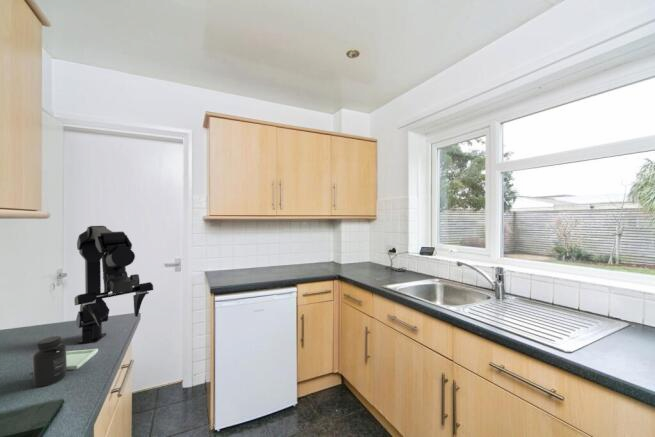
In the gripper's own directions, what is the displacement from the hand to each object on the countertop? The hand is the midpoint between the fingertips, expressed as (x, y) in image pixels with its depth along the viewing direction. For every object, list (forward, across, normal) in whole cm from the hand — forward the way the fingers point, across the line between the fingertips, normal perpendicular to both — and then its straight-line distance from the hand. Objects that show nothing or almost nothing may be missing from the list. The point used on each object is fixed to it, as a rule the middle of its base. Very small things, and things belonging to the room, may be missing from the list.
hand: (118, 321), depth 83 cm
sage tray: (+10, -9, +22) cm, 26 cm away
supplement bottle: (+13, -14, +14) cm, 23 cm away
